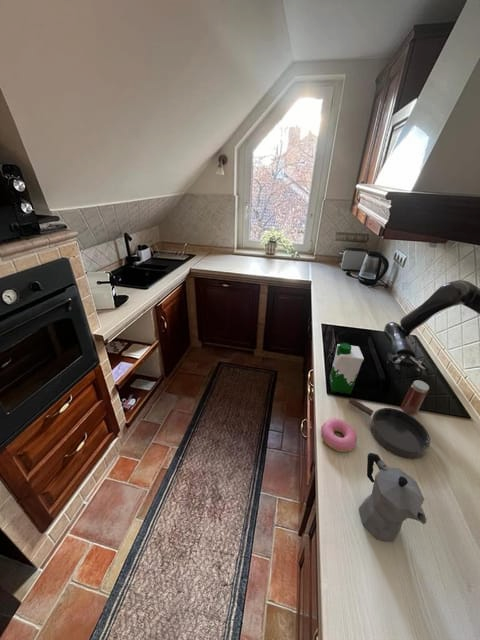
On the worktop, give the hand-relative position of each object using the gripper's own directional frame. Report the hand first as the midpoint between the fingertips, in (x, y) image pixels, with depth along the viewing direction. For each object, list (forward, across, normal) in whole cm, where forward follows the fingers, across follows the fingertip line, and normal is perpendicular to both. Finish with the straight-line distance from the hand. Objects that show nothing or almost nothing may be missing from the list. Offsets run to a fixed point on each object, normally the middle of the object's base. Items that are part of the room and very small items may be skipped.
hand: (410, 374), depth 96 cm
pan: (+24, -6, +8) cm, 26 cm away
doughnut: (+32, -24, +8) cm, 41 cm away
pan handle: (+18, -17, +6) cm, 26 cm away
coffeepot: (+51, -15, +8) cm, 53 cm away
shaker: (+10, 0, +8) cm, 13 cm away
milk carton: (+7, -24, +8) cm, 26 cm away
